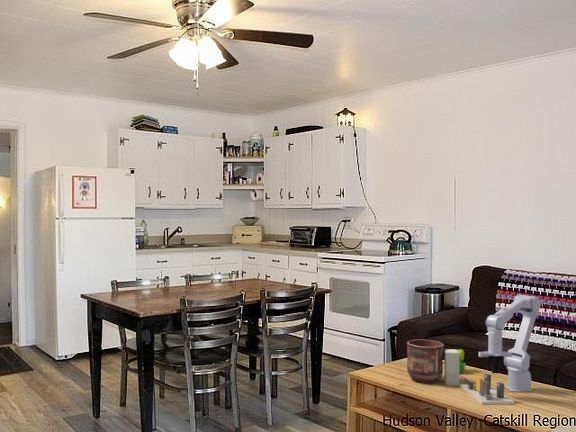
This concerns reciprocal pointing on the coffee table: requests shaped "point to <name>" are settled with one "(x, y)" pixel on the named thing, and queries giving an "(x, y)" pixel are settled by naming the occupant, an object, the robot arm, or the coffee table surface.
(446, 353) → the skincare box
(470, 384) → the paddle
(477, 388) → the block
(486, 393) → the paddle
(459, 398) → the coffee table surface
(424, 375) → the pottery
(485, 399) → the breaker panel
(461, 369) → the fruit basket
